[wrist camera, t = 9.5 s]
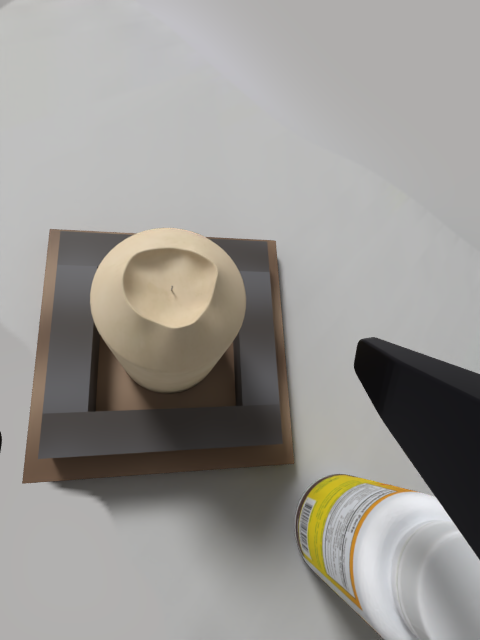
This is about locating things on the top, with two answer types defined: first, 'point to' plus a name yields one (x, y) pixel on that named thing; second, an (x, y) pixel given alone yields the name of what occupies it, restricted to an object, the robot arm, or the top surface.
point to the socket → (144, 405)
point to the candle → (168, 307)
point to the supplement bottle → (391, 558)
